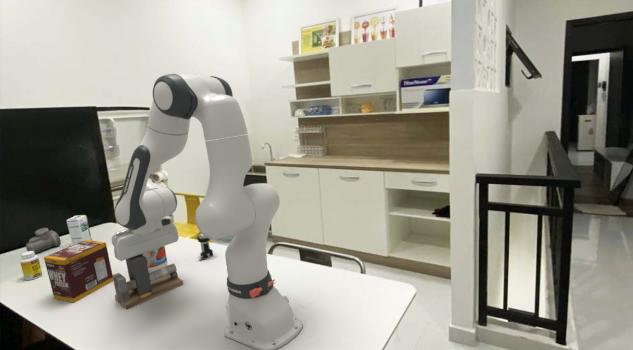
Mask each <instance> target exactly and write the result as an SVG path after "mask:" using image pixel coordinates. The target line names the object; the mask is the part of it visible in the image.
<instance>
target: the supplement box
mask: <svg viewBox="0 0 633 350" xmlns="http://www.w3.org/2000/svg"><path fill="white" fill-rule="evenodd" d="M109 257H110V256H109V252H108V246H107V242H105V241H99V240H98V241H97V240H92V241H91V240H84V241H82V242H80V243H77V244H75V245H73V244H72V245H70V246H68V247H66V248H63V249H60V250H57V251H55V252H53V253H51V254H48V255H46V256H44V257H43V260H44V264H45V268H46V272H47V276H48V279H49V283H50V287H51V291H52V295H53V299H57V300H60V301H65V302H70V303H76V302H78V301H79V300H82V299H83V298H85V297H87V296H89V295H91V294H93V293H94V292H96V291H97V290H99V289H101V288H103V287H105V286H107V285H109V284H110V283H112V282H114V281H113V277H112V275H113V271H112V266H111V261H110V258H109Z"/></svg>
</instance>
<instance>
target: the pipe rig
mask: <svg viewBox="0 0 633 350" xmlns="http://www.w3.org/2000/svg"><path fill="white" fill-rule="evenodd" d="M112 277H113V281H112V282H113V285H114V290H115V295H114V298H115V300H116V302H117V303H119V304H120V305H121V306H122V307H123V308H124V309H125V310H126V311H127V310H129V309H130V310H131V309H132V308H134V307H137V306H138V305H141V304H143V303H145V302H147V301H149V300H152V299H154V298H157V297H159V296H161V295H163V294H165V293H167V292H169V291H171V290H174V289H176V288H178V287H180V286H183V285H184V281H183V279H181V278H180V277H179V276H178V271H177V265H176V264H175V263H171V264H169V265H168V264H167V266H166V267H163V268H161V269H158V270H156V271H153V272H151V273H149V277H150V282H151V287H152V290H151V291H149V292H147V293H145V294H142V295H138V294H137V293H136V292H135V291H133V289H135V288H137V287H136V282H135V280H134V279H133V280H131V281H130V280H129V281H127V278H126V276H124V275H122V274H121V273H120V272H117V273H114V274H112Z"/></svg>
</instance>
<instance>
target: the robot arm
mask: <svg viewBox="0 0 633 350" xmlns="http://www.w3.org/2000/svg"><path fill="white" fill-rule="evenodd" d="M233 96H234V95H233V90H232V88H231V85H230V84H229V82H227V81H226V80H225V79H223V78H221V77H219V76H218V77H217V76H216V75H215V76H214V75H210V76H208V75H203V74H201V75H200V74H198V73H197V74H196V73H180V74H177V73H170V74H169V73H168V74H164V75H162V76H160V77H158V78H157V79H156V80H155V82H154V84H153V87H152V99H153V100H152V103H151V106H150V110H149V115H148V120H147V126H146V127H147V128H146V131H145V133H144V136H143V138H142V141H141V142H140V143H139V144H138V146H137V147H136V148H135V149H134V151H133V153H132V155H131V158H130V161H129V165H128V168H127V171H126V176H125V179H124V183H123V187H122V189H121V192H120V195H119V198H118V199H117V202H116V203H115V207H114V214H113V215H114V218H115V221H116V222H117V224H118V225H120V226H121V227H123V228H125V229H124V230H122V231H118V232H117V231H116V232H115V234H113V235H112V236H111V243H112V246H113V254H114V257H115V258H116V259H117V260H118V261H120V262H123V261H126V259H129V258H132V257H134V256H137V255H140V254H141V255H143V256H145V257H146V260H147V264H150V263H152V262H155V261H156V255H157V253H158V248H160V247H163V246H165V247H166V246H169V245H171V244H173V243H176V242H178V240H179V238H180V237H179V233H178V229H177V226H176V225H175V224H174V219H173V217H171V216H170V215H172V214H174V213H175V211H176V210H177V207H178V198H177V195H176V193H175V192H174V191H173V190H172V189H171V188H169V187H167V186H162V185H159V184H157V183H155V182H153V181H152V179H151V177H150V176H151V174H152V173H153V172H154V171H155V170H156V169H158V167H160V166H161V165H163V164H164V163H166V162H168V161H170V160H172V159H174V158H176V157H178V156H179V155H180V154H181V153H182V152H183V151H184V149H185V147H186V145H187V143H188V142H187V141H188V137H189V131H190V124H191V118H194V119H197V120H198V121H199V122H200V124H201V127H202V131H203V132H202V133H203V138H204V143H205V148H206V154H207V159H208V166H209V167H208V168H209V180H208V186H207V189H206V193H205V195H204V197H203V200H202V201H201V202H200V203H199V205H198V207H197V209H196V211H195V216H194V217H195V225H196V227H197V228H196V229H198V231H199V233H200V234H203V235H204V236H205V237H207V238H208V239H210V241H211V240H220V239H224V238H225V239H226V238H229V237H232V236H233V237H232V240H231V241H230V242H229V243H228V245H227V246H226V250H225V255H224V257H225V263H226V264H225V265H226V271H227V272H226V273H227V277H226V287H227V291H228V293H229V295H228V300H227V303H226V327H225V329H224V336H225V337H226V338H228V339H231V340H233V341H236V342H239V343H241V344H243V345H245V346H248V347H250V348H253V349H255V350H277V349H280V348H282V347H283V346H285V345H287V344H288V343H289V342H291V341H292V340H294V339H295V338H296V336H297V335H299V333H300V332H301V331H302V329H303V326H304V324H303V321H302V320H301V319H299V318H298V317H297V316H296V315H295V314H294V313H293V310H292V307H291V305H290V302H289V301H290V300H289V297H288V296H286V295H284V296H283V295H282V294H281V292H279V290H278V289H277V287H275V285H274V284H275V283H276V282H275V279H273V278H272V275H271V273H270V270H269V269H268V260H267V259H268V256H267V244H268V243H267V240H268V236H269V232H270V231H269V230H270V227H271V223H272V221H273V219H274V217H275V215H276V214H277V212H278V210H279V208H280V196H279V193H278V191H277V190H276V188H275V187H274V186H273V185H272V184H270V183H266V182H263V183H261V182H260V183H251V184H248V185H245V186H244V183H245V178H246V175H247V173H248V172H249V171H250V169H252V166H253V162H254V161H253V156H252V155H253V154H252V150H251V145H250V140H249V134H248V129H247V125H246V121H245V117H244V113H243V112H242V109H241V106H240V104H239V102H238V100H237V99H236V98H235V97H233ZM149 251H153V253H152V256H150V257H147V256H146V255H147V252H149Z"/></svg>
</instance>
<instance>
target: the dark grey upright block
mask: <svg viewBox="0 0 633 350" xmlns="http://www.w3.org/2000/svg"><path fill="white" fill-rule="evenodd" d="M125 264H126V268H127V272H128V278H129V281H131V280H133V279H134V280H135V282H136V287H137V288H135V289H133V291H135V292H136V293H137V294H138V295H142V294H145V293H147V292H149V291H151V290H152V287H151V282H150V277H149V271H148V266H147V260H146V257H145V256H143V255H141V254H140V255H137V256H134V257H132V258H129V259H126V260H125Z"/></svg>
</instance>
